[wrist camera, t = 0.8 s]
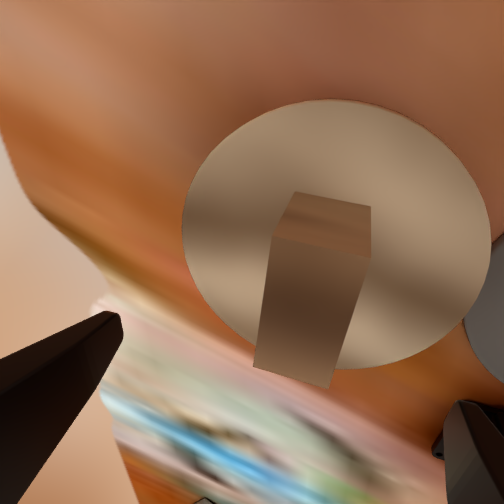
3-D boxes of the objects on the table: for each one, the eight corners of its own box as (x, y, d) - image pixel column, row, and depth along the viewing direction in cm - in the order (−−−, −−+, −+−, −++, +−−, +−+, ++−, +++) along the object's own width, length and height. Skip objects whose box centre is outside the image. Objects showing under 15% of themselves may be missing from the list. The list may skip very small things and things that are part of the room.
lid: (418, 383, 18) (432, 480, 14) (190, 318, 21) (145, 385, 17) (554, 128, 12) (658, 174, 7) (191, 76, 14) (116, 89, 10)
